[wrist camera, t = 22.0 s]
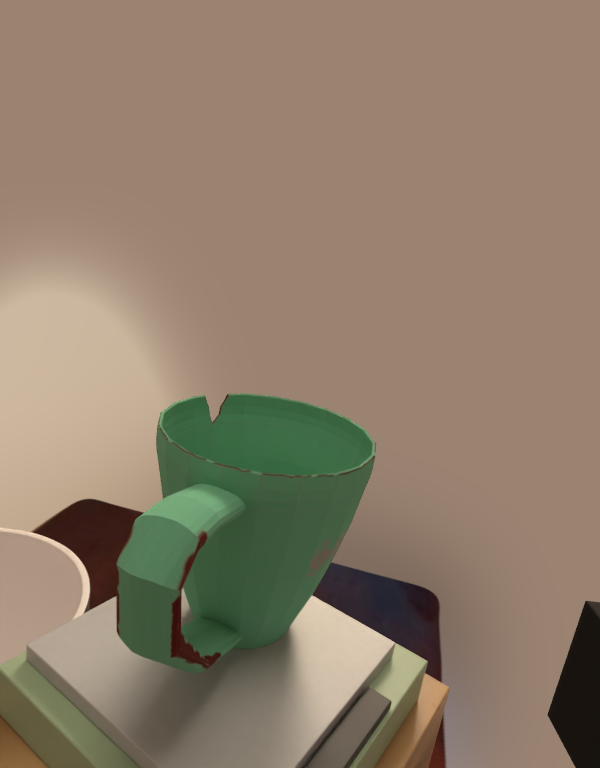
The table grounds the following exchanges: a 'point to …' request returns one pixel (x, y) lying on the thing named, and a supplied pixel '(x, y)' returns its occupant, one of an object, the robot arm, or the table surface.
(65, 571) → the planter
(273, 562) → the mug
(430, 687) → the riser
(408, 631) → the table surface
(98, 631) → the scale
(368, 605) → the table surface
